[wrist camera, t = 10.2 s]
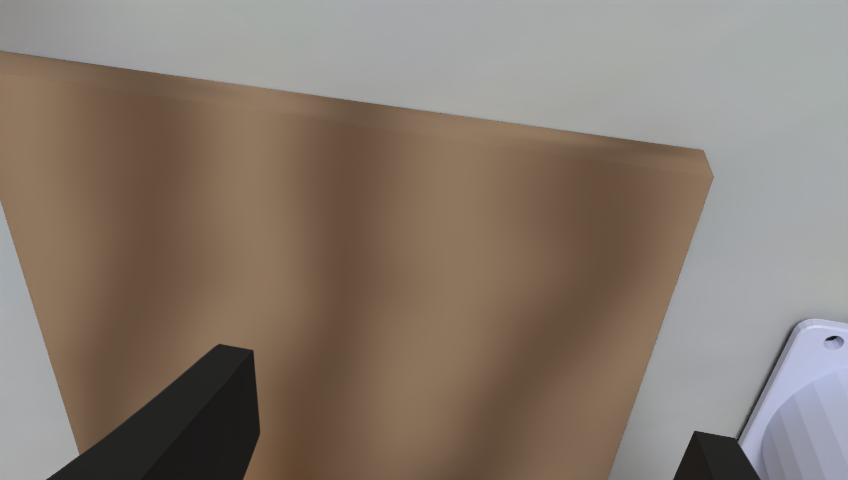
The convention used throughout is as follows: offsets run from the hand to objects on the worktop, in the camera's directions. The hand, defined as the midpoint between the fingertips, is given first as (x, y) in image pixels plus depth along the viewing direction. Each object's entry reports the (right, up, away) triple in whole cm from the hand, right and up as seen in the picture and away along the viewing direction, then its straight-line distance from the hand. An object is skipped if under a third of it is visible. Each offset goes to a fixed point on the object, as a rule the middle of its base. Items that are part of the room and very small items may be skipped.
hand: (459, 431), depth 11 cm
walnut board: (-4, -3, +14) cm, 15 cm away
